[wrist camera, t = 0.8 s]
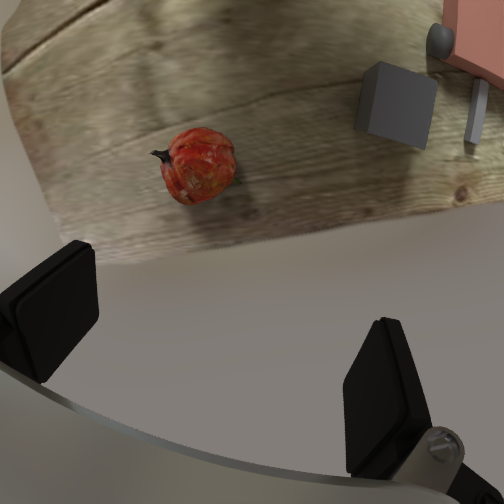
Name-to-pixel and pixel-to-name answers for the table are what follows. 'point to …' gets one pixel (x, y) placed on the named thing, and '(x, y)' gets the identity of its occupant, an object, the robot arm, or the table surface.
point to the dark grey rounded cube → (396, 104)
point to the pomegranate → (197, 165)
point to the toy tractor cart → (472, 50)
